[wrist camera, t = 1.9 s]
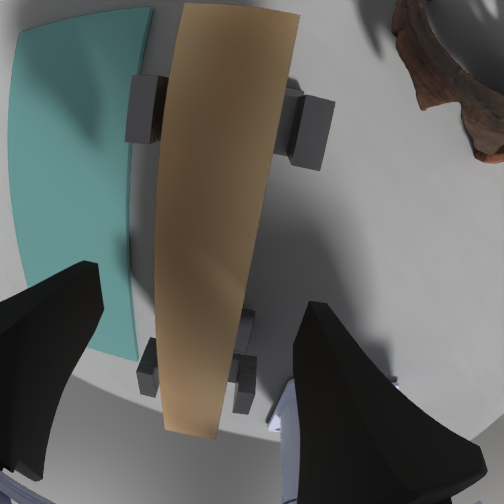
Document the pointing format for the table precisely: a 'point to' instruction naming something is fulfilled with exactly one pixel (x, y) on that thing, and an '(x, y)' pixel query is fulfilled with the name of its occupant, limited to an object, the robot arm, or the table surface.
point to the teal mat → (77, 156)
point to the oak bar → (212, 196)
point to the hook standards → (287, 143)
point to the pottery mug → (448, 80)
